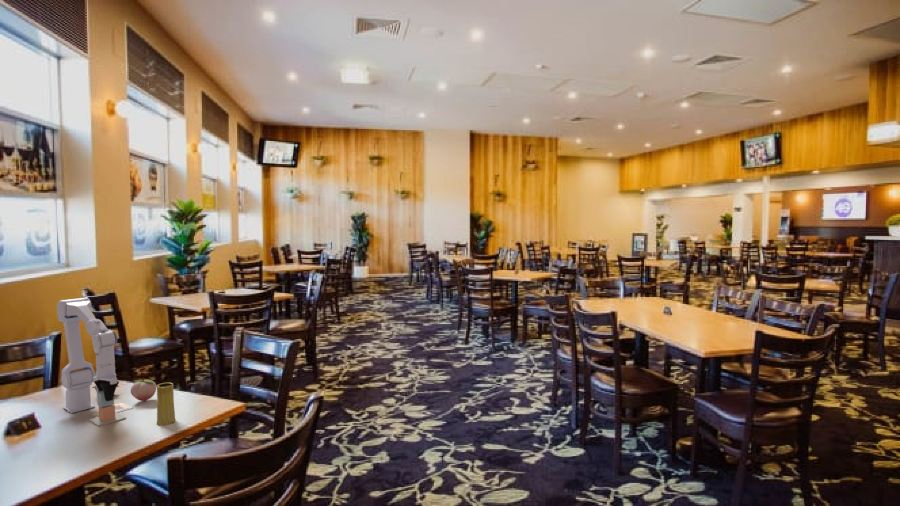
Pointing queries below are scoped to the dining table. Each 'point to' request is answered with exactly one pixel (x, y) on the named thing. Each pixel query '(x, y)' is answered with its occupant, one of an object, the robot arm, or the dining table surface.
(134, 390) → the decorative fruit
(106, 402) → the brick blue
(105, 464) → the dining table surface
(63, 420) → the dining table surface
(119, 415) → the plate
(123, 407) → the card
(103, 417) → the brick terracotta
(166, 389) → the vase
